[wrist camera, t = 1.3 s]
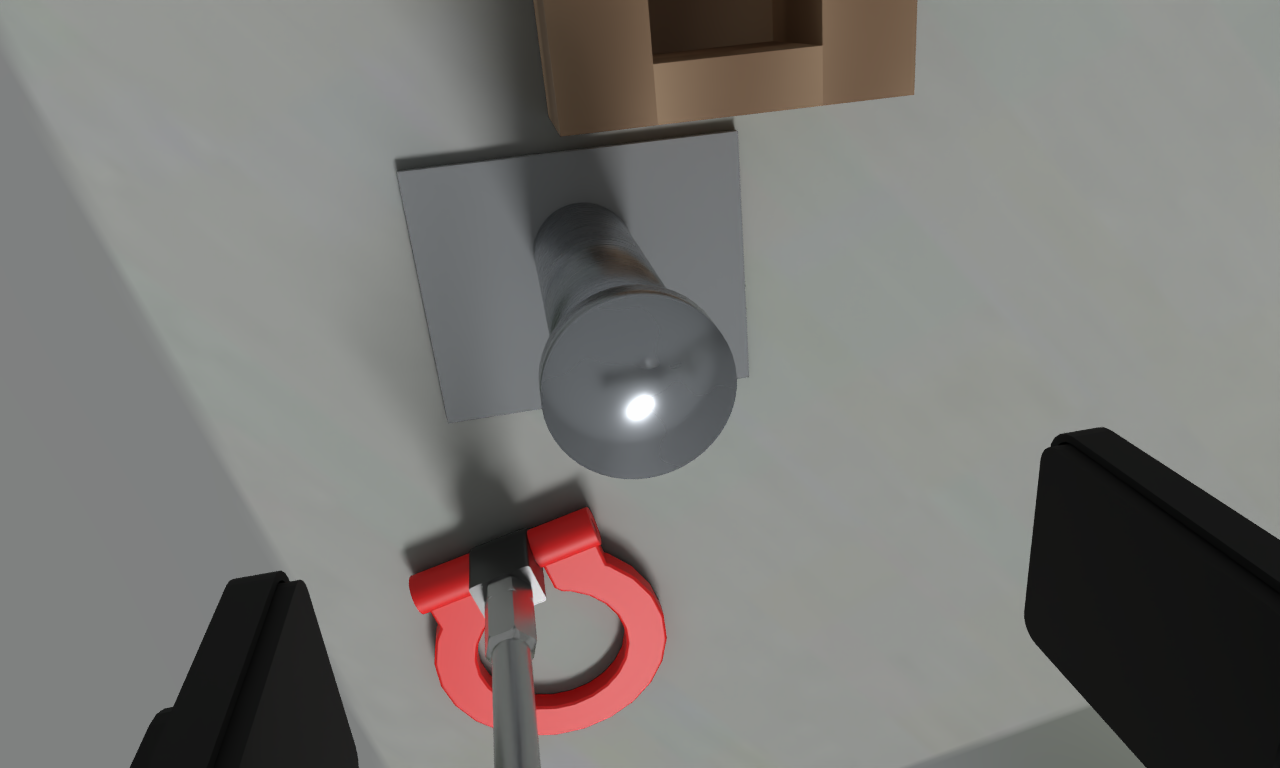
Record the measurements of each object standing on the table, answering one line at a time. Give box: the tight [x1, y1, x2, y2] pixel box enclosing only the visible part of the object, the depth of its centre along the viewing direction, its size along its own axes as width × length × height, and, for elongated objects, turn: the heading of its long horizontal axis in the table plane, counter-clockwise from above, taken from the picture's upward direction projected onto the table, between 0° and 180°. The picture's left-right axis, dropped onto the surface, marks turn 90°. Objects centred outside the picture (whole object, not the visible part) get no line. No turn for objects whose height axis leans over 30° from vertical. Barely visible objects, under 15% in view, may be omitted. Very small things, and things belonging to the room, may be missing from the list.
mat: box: [397, 130, 749, 423], centre depth 27 cm, size 10×8×1 cm
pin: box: [534, 202, 737, 479], centre depth 21 cm, size 4×4×11 cm
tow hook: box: [409, 507, 667, 768], centre depth 27 cm, size 8×13×9 cm
